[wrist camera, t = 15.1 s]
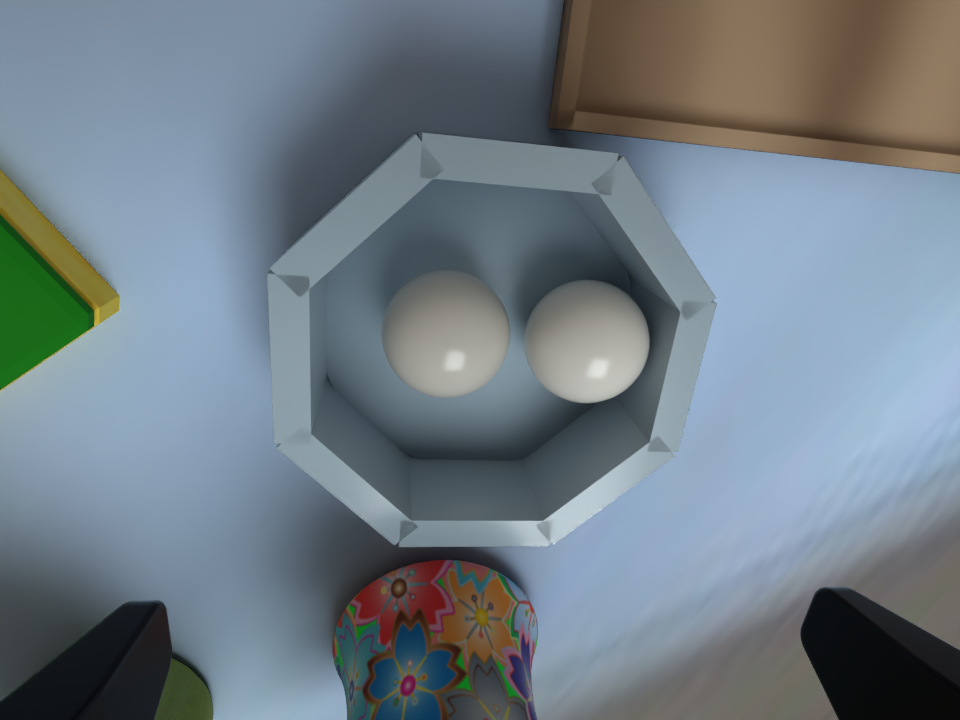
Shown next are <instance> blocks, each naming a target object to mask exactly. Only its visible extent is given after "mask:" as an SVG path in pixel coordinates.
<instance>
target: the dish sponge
mask: <svg viewBox="0 0 960 720" xmlns="http://www.w3.org/2000/svg"><path fill="white" fill-rule="evenodd" d="M118 311H119V295H118V294H117V293H116V292H115V291H114V289H113V288H112V287H111V286H110V285H109V284H108V283H107V282H106V281H105V280H104V279H103V278H102V277H101V276H100V275H99V274H98V273H97V271H96V270H95V269H94V268H93V267H92V266H91V265H90V264H89V263H88V262H87V261H86V260H85V259H84V258H83V257H82V256H81V254H80V253H79V252H78V251H77V250H76V249H75V248H74V247H73V246H72V245H71V244H70V243H69V242H68V241H67V240H66V239H65V238H64V236H63V235H62V234H61V233H60V232H59V231H58V230H57V229H56V228H55V227H54V226H53V225H52V224H51V223H50V222H49V221H48V219H47V218H46V217H45V216H44V215H43V214H42V213H41V212H40V211H39V210H38V209H37V208H36V207H35V206H34V205H33V204H32V203H31V201H30V200H29V199H28V198H27V197H26V196H25V195H24V194H23V193H22V192H21V191H20V190H19V189H18V188H17V187H16V186H15V184H14V183H13V182H12V181H11V180H10V179H9V178H8V177H7V176H6V175H5V174H4V173H3V172H2V171H1V170H0V391H1V390H3V389H4V388H6V387H7V386H8V385H10V384H11V383H13V382H14V381H16V380H17V379H19V378H20V377H22V376H23V375H25V374H26V373H28V372H29V371H31V370H32V369H34V368H35V367H36V366H38V365H39V364H41V363H42V362H44V361H45V360H47V359H48V358H50V357H51V356H53V355H54V354H56V353H57V352H59V351H60V350H62V349H63V348H64V347H66V346H67V345H69V344H70V343H72V342H73V341H75V340H76V339H78V338H79V337H81V336H82V335H84V334H85V333H87V332H88V331H90V330H91V329H92V328H94V327H95V326H97V325H98V324H100V323H101V322H103V321H104V320H106V319H107V318H109V317H110V316H112V315H113V314H115V313H116V312H118Z"/></svg>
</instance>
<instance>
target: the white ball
mask: <svg viewBox="0 0 960 720" xmlns="http://www.w3.org/2000/svg"><path fill="white" fill-rule="evenodd" d="M649 347H650V336H649V328H648V325H647V321H646V319H645V317H644V314H643V312H642V311H641V309H640V307H639V306H638V304H637V303H636V302H635V301H634V300H633V299H632V298H631V297H630V296H629V295H628V294H627V293H626V292H624V291H623V290H621V289H620V288H618V287H616V286H614V285H612V284H609V283H606V282H603V281H598V280H577V281H572V282H568V283H565V284H563V285H561V286H559V287H557V288H555V289H553V290H552V291H550V292H549V293H547V294H546V295H545V296H544V297H543V298H542V299H541V300H540V301H539V302H538V304H537V305H536V306H535V308H534V309H533V311H532V313H531V314H530V317H529V319H528V322H527V324H526V328H525V335H524V349H525V355H526V359H527V362H528V365H529V367H530V369H531V371H532V373H533V374H534V376H535V377H536V379H537V380H538V381H539V382H540V383H541V384H542V385H543V386H544V387H545V388H546V389H547V390H549V391H550V392H551V393H553V394H555V395H556V396H558V397H561V398H563V399H565V400H569V401H572V402H578V403H595V402H600V401H604V400H608V399H610V398H613V397H615V396H617V395H618V394H620V393H622V392H623V391H625V390H626V389H627V388H628V387H629V386H630V385H632V384H633V383H634V381H635V380H636V379H637V378H638V376H639V375H640V373H641V371H642V370H643V368H644V366H645V363H646V361H647V357H648V353H649Z"/></svg>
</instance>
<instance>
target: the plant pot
mask: <svg viewBox="0 0 960 720" xmlns="http://www.w3.org/2000/svg"><path fill="white" fill-rule="evenodd" d="M154 720H213V706H212V701H211V697H210V694H209V691H208V689H207V687H206V686H205V684H204V683H203V682H202V680H201V679H200V678H199V677H198V676H197V675H196V674H195V673H194V672H193V671H192V670H191V669H189V668H188V667H187V666H185V665H184V664H182V663H180V662H178V661H177V660H175V659H173V658H171V664H170V669H169V672H168V676H167V679H166V682H165V686H164V689H163V692H162V696H161V699H160V702H159V706H158V709H157V712H156V715H155V719H154Z"/></svg>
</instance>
